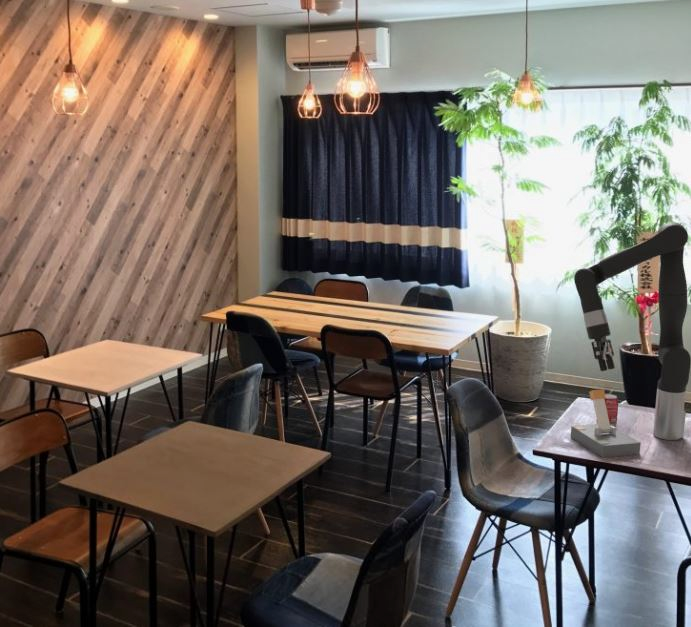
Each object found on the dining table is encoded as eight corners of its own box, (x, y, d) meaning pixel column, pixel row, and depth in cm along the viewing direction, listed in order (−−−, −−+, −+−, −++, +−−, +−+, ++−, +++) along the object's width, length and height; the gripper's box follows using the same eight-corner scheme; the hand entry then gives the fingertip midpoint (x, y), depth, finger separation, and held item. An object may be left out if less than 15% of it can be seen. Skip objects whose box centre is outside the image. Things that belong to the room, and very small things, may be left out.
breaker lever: (609, 433, 275) (600, 391, 280) (613, 431, 273) (604, 389, 278) (598, 434, 274) (589, 391, 279) (601, 432, 272) (592, 390, 277)
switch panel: (605, 433, 286) (607, 416, 285) (639, 454, 267) (641, 435, 266) (570, 436, 283) (571, 419, 281) (602, 457, 264) (603, 439, 262)
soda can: (600, 423, 298) (603, 391, 295) (619, 427, 293) (622, 395, 291) (592, 427, 292) (595, 396, 290) (611, 432, 288) (614, 400, 286)
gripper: (600, 322, 272) (612, 369, 270) (613, 321, 284) (624, 366, 282) (579, 327, 276) (590, 373, 274) (592, 326, 288) (603, 370, 286)
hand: (607, 369), depth 278 cm, fingers open, 8 cm apart
